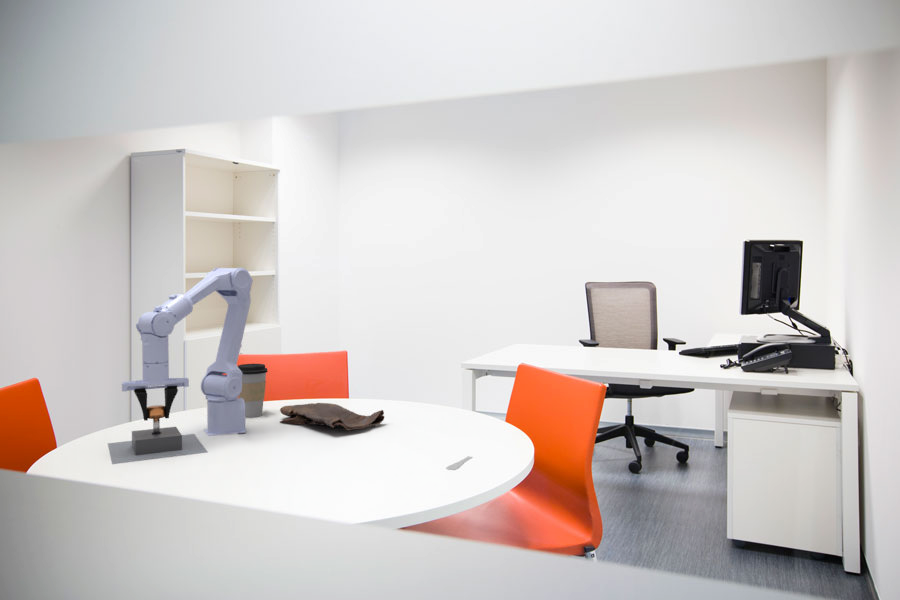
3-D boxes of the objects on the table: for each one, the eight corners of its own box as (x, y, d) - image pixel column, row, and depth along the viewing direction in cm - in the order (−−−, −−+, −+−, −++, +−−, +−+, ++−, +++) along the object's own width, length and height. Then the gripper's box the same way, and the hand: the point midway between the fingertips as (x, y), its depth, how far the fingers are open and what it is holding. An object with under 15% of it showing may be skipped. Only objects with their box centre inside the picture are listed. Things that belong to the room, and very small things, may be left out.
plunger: (164, 433, 160) (164, 404, 160) (166, 437, 156) (166, 407, 156) (146, 435, 158) (146, 406, 158) (148, 439, 154) (147, 409, 154)
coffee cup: (258, 419, 190) (258, 368, 190) (228, 417, 192) (228, 367, 192) (273, 412, 200) (273, 363, 199) (245, 411, 202) (244, 362, 201)
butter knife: (442, 468, 143) (454, 470, 142) (485, 443, 165) (495, 444, 164) (442, 470, 143) (454, 472, 142) (485, 444, 165) (495, 446, 164)
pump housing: (176, 440, 164) (176, 426, 164) (182, 449, 155) (181, 435, 155) (131, 445, 159) (131, 431, 159) (135, 455, 150) (135, 440, 150)
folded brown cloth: (268, 421, 190) (268, 403, 190) (325, 410, 205) (325, 395, 204) (332, 440, 168) (332, 421, 168) (392, 427, 183) (392, 410, 182)
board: (194, 435, 171) (194, 433, 171) (207, 454, 154) (207, 452, 154) (107, 445, 161) (107, 443, 161) (112, 466, 144) (112, 464, 144)
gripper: (185, 358, 164) (185, 412, 164) (120, 362, 156) (121, 418, 157) (190, 361, 158) (190, 417, 158) (122, 365, 150) (123, 424, 151)
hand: (156, 418), depth 157 cm, fingers closed on plunger, 4 cm apart
